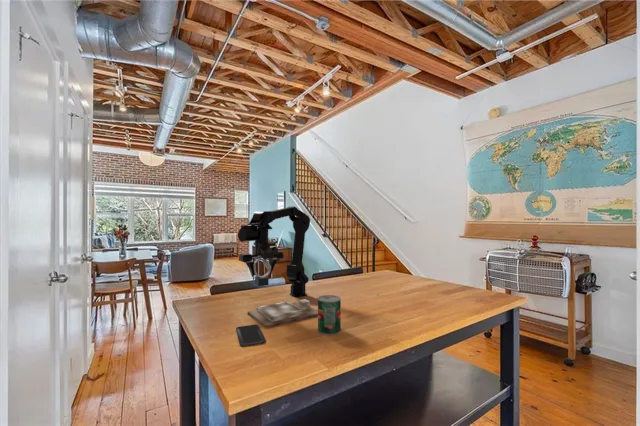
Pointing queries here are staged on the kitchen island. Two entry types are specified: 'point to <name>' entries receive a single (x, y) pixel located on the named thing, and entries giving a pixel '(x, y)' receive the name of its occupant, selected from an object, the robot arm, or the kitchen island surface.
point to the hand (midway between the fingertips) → (261, 276)
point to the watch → (262, 279)
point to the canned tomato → (329, 314)
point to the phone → (250, 335)
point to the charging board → (283, 313)
